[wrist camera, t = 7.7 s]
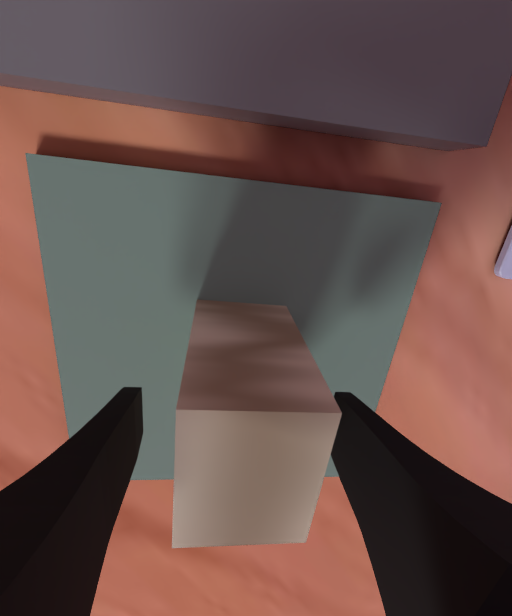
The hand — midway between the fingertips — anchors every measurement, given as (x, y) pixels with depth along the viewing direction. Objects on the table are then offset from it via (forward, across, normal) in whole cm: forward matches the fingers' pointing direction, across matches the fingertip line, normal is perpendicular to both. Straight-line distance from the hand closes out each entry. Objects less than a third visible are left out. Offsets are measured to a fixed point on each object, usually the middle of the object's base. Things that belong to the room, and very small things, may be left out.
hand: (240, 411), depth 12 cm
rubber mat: (+4, 0, 0) cm, 4 cm away
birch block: (+4, 0, 0) cm, 4 cm away
